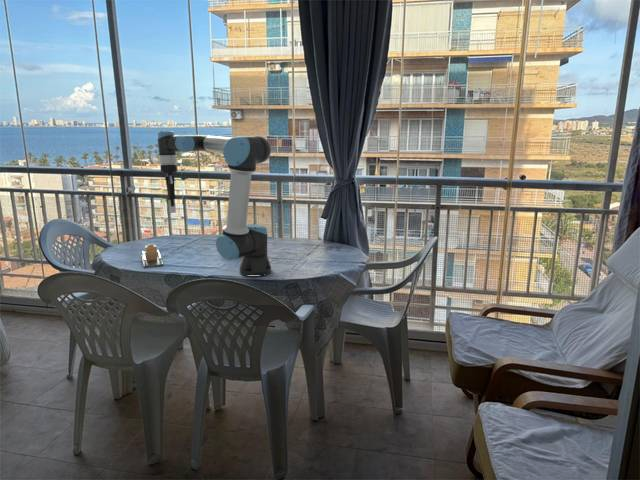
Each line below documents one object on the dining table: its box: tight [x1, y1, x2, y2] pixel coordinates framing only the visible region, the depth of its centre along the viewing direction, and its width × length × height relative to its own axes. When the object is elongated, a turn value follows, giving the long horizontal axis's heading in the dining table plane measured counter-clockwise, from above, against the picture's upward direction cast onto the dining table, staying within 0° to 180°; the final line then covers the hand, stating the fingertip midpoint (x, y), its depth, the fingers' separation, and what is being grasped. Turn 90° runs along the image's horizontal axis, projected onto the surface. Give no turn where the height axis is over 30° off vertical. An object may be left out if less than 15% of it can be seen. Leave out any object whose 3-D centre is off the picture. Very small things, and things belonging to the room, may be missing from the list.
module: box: [144, 244, 158, 261], centre depth 224 cm, size 4×5×8 cm
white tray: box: [141, 249, 164, 269], centre depth 225 cm, size 20×9×4 cm, turn 24°
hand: (172, 212), depth 216 cm, fingers closed
